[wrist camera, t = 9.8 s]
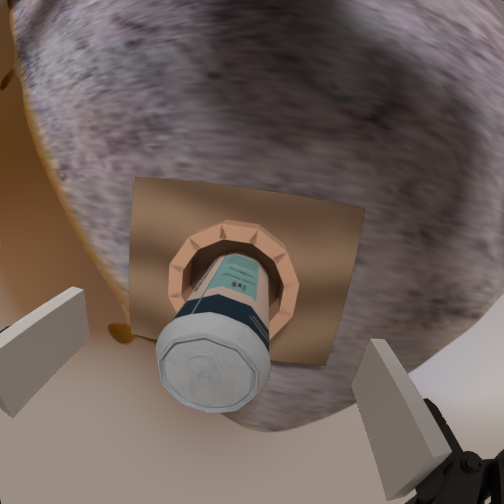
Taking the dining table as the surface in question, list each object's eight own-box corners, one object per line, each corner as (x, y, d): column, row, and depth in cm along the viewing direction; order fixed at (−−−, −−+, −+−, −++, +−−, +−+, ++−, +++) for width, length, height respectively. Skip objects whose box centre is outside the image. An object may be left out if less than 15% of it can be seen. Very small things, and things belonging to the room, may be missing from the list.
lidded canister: (217, 313, 22) (176, 422, 10) (199, 258, 21) (127, 335, 9) (275, 300, 21) (282, 412, 9) (260, 242, 20) (251, 312, 9)
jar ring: (183, 213, 20) (173, 217, 18) (303, 231, 20) (308, 236, 17) (176, 320, 22) (167, 334, 20) (282, 337, 22) (283, 354, 19)
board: (141, 177, 21) (135, 176, 20) (359, 207, 20) (365, 208, 19) (136, 327, 24) (131, 333, 23) (323, 358, 24) (325, 365, 22)
